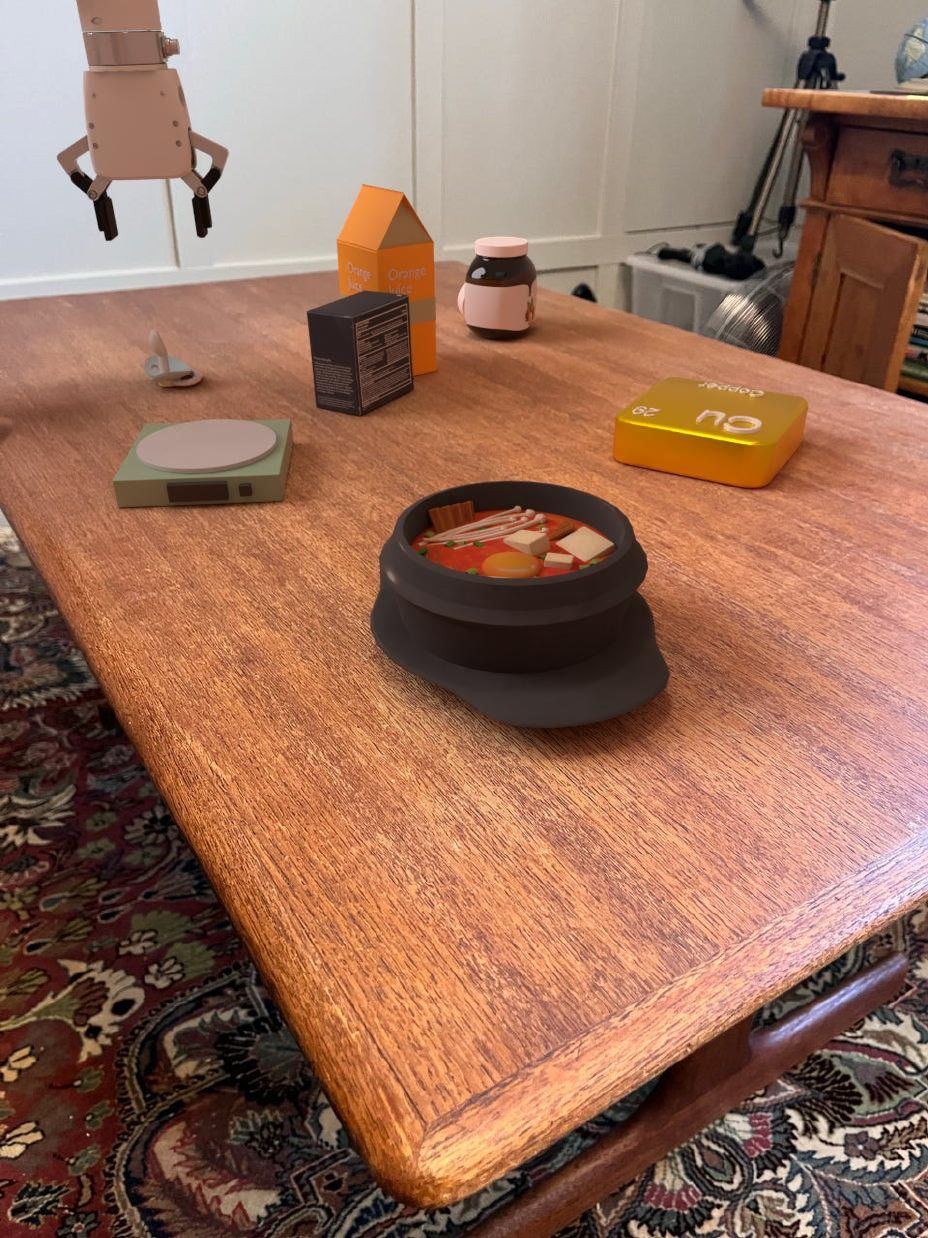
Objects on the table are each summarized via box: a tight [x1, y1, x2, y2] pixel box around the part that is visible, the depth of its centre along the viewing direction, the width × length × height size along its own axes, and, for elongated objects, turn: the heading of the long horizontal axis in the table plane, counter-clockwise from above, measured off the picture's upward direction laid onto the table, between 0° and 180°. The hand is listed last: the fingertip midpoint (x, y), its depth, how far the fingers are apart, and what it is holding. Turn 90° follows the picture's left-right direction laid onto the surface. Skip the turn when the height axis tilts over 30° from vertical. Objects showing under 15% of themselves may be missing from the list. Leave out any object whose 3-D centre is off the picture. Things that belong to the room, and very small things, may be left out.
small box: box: [306, 290, 415, 417], centre depth 106 cm, size 11×6×10 cm, turn 149°
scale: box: [112, 418, 294, 508], centre depth 89 cm, size 14×14×3 cm
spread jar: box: [457, 235, 538, 341], centre depth 129 cm, size 12×11×12 cm
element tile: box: [612, 376, 809, 489], centre depth 93 cm, size 15×15×5 cm
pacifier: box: [143, 328, 203, 388], centre depth 112 cm, size 7×6×6 cm
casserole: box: [369, 480, 671, 729], centre depth 63 cm, size 25×19×8 cm
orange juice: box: [335, 183, 438, 377], centre depth 113 cm, size 8×9×20 cm
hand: (157, 236), depth 105 cm, fingers open, 9 cm apart
